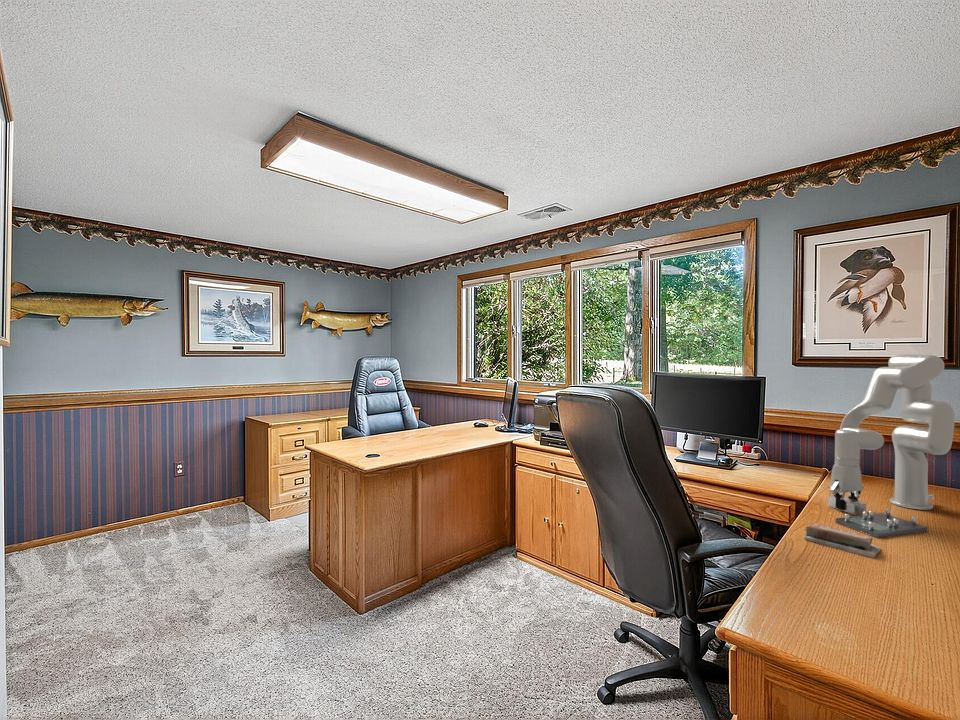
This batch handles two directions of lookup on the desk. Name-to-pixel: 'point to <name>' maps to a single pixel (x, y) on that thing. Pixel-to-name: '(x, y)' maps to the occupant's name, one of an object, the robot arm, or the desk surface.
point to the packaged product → (841, 539)
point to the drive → (849, 505)
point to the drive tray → (881, 524)
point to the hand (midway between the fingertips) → (846, 507)
